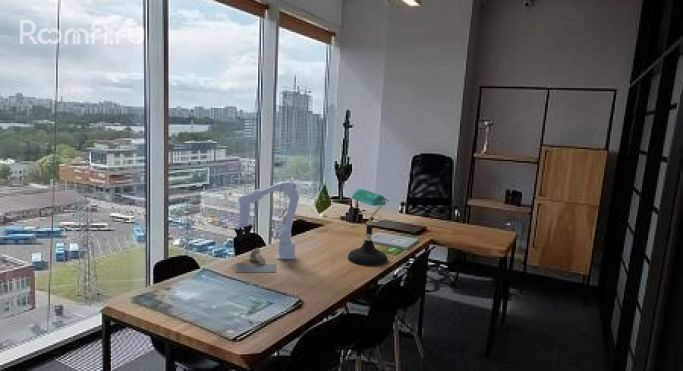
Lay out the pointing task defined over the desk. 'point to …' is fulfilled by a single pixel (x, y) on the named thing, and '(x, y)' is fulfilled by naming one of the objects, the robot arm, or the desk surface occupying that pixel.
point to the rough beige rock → (257, 256)
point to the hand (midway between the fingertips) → (243, 239)
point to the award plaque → (393, 240)
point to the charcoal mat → (256, 268)
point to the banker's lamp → (368, 233)
